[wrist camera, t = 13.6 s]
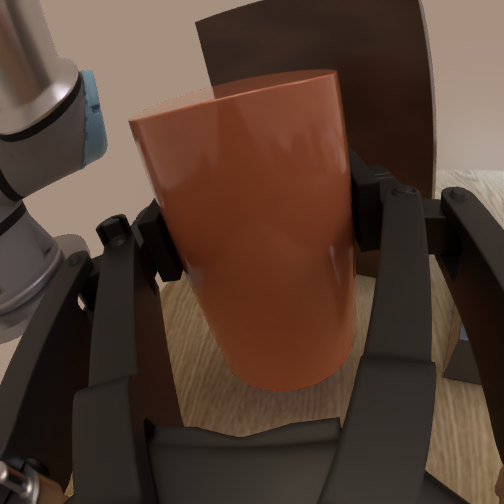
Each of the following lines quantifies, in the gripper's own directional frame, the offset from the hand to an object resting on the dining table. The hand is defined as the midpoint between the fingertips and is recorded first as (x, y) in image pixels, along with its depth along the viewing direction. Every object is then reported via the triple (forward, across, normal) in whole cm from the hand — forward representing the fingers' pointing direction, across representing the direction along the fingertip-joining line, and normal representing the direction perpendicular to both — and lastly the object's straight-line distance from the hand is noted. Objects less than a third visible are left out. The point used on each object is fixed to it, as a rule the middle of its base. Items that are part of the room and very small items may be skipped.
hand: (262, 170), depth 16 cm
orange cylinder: (-5, 0, -7) cm, 9 cm away
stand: (+11, +7, -12) cm, 17 cm away
